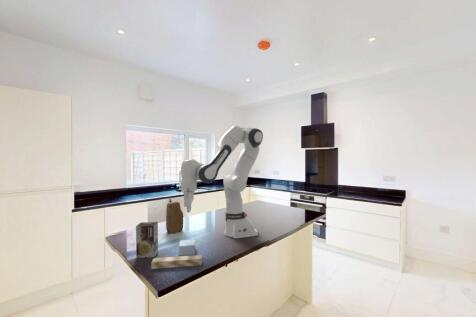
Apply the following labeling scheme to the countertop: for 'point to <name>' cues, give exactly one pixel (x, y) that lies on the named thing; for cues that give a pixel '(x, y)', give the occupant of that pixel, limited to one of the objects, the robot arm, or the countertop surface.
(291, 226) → the countertop surface
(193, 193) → the robot arm
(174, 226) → the block
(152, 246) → the coffee box
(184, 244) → the blue block
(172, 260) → the oak board
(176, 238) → the countertop surface
